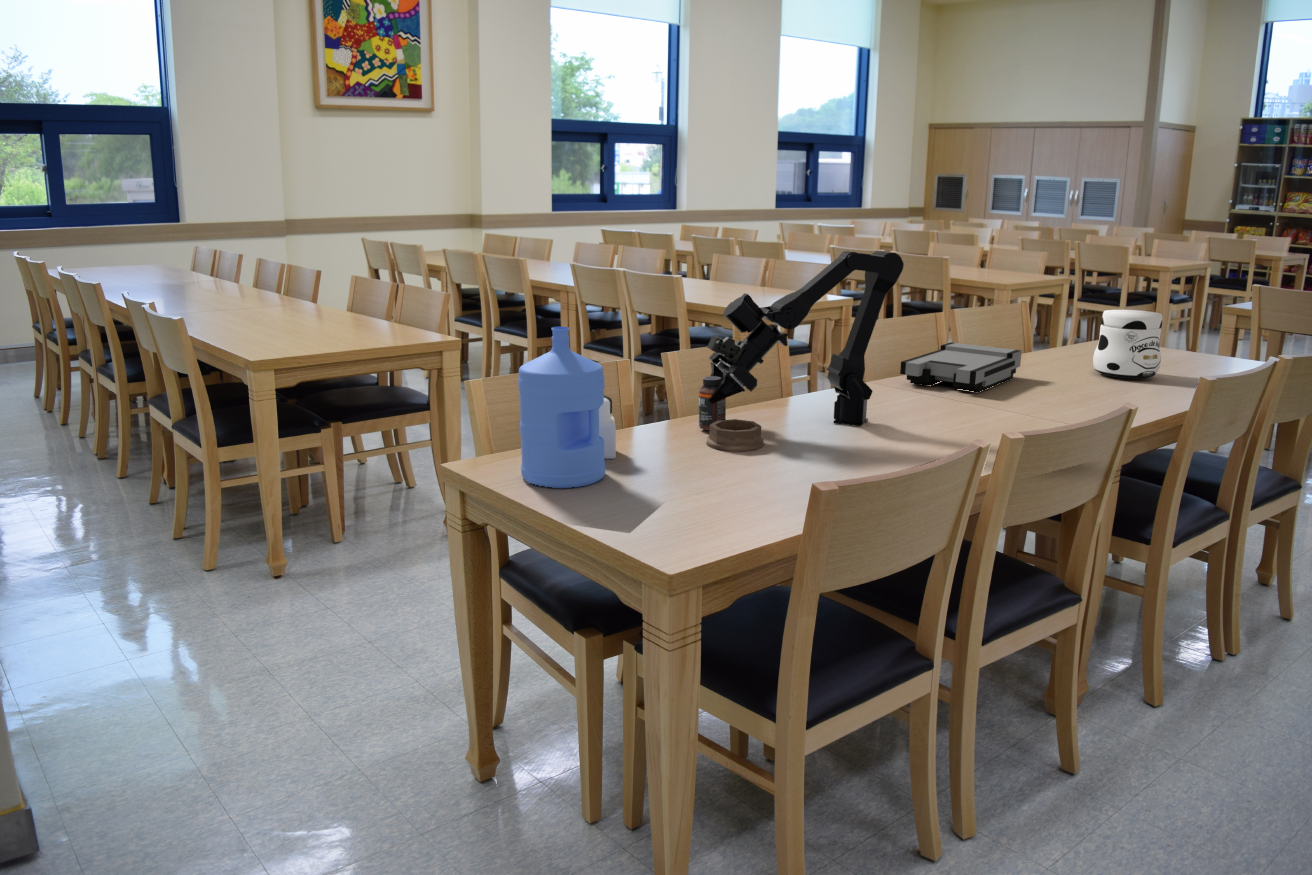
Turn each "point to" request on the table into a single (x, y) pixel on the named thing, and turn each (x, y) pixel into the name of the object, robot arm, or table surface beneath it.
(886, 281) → the robot arm
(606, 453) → the medicine bottle
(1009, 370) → the game console
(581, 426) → the water jug
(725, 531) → the table surface
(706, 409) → the supplement bottle
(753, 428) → the ring
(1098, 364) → the cow print jar
